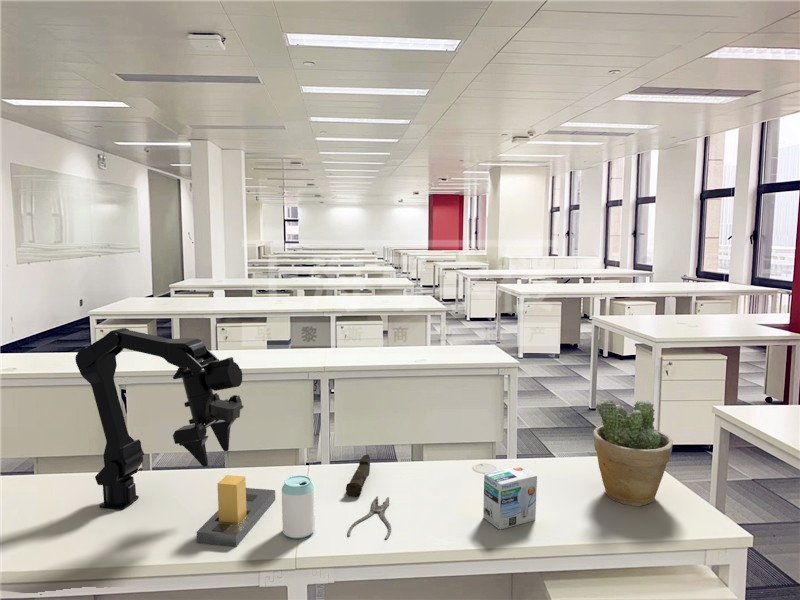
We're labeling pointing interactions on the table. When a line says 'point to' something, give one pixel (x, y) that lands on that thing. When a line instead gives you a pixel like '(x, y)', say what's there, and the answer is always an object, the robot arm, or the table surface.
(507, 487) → the light bulb box
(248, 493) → the charcoal peg board
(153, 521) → the table surface
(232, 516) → the amber peg
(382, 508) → the pliers
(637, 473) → the potted plant
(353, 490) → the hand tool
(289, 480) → the can
